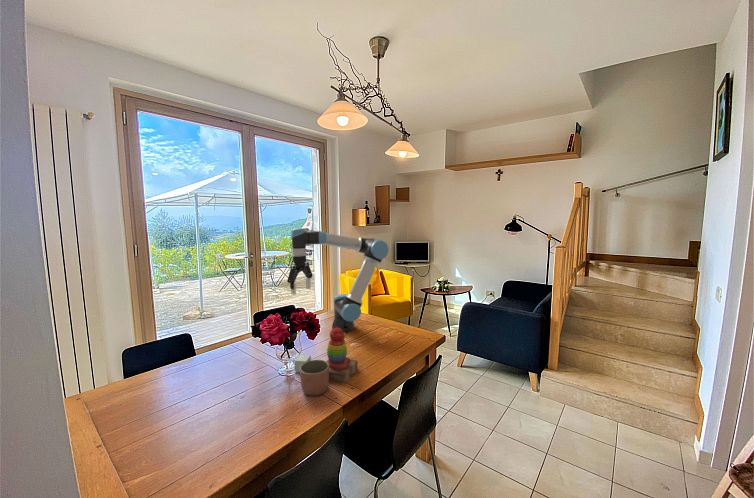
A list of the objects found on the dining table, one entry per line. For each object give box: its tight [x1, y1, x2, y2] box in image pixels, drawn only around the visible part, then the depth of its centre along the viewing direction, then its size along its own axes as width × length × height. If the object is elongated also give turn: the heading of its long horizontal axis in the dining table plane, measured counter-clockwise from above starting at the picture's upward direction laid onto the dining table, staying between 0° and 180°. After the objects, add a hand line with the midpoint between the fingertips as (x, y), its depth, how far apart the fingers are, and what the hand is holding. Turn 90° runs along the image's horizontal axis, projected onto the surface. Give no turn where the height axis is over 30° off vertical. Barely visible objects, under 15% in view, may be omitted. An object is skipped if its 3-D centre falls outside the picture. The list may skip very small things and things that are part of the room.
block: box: [293, 354, 312, 374], centre depth 150 cm, size 6×6×6 cm
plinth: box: [325, 358, 358, 385], centre depth 146 cm, size 14×14×5 cm
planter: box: [299, 359, 330, 397], centre depth 132 cm, size 12×12×11 cm
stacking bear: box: [326, 326, 351, 370], centre depth 145 cm, size 11×10×18 cm
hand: (301, 291), depth 177 cm, fingers open, 13 cm apart
